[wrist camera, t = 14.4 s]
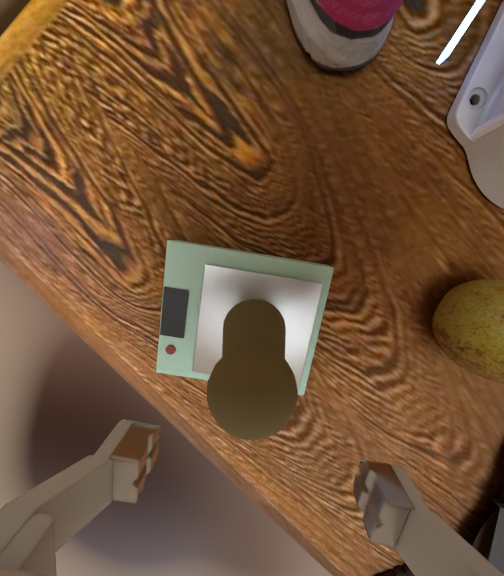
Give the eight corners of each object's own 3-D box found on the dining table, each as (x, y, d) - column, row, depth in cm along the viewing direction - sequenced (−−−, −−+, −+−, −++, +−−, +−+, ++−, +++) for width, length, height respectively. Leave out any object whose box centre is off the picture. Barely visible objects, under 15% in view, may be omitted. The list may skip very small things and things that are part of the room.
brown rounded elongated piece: (209, 324, 23) (168, 401, 12) (259, 286, 22) (262, 333, 11) (248, 369, 24) (242, 478, 13) (298, 334, 23) (334, 421, 12)
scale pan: (206, 263, 22) (204, 263, 22) (322, 282, 22) (323, 283, 22) (193, 368, 25) (191, 371, 24) (298, 385, 25) (299, 388, 24)
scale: (175, 239, 25) (165, 240, 22) (327, 264, 25) (335, 268, 22) (164, 361, 28) (154, 374, 25) (300, 382, 28) (304, 397, 25)
